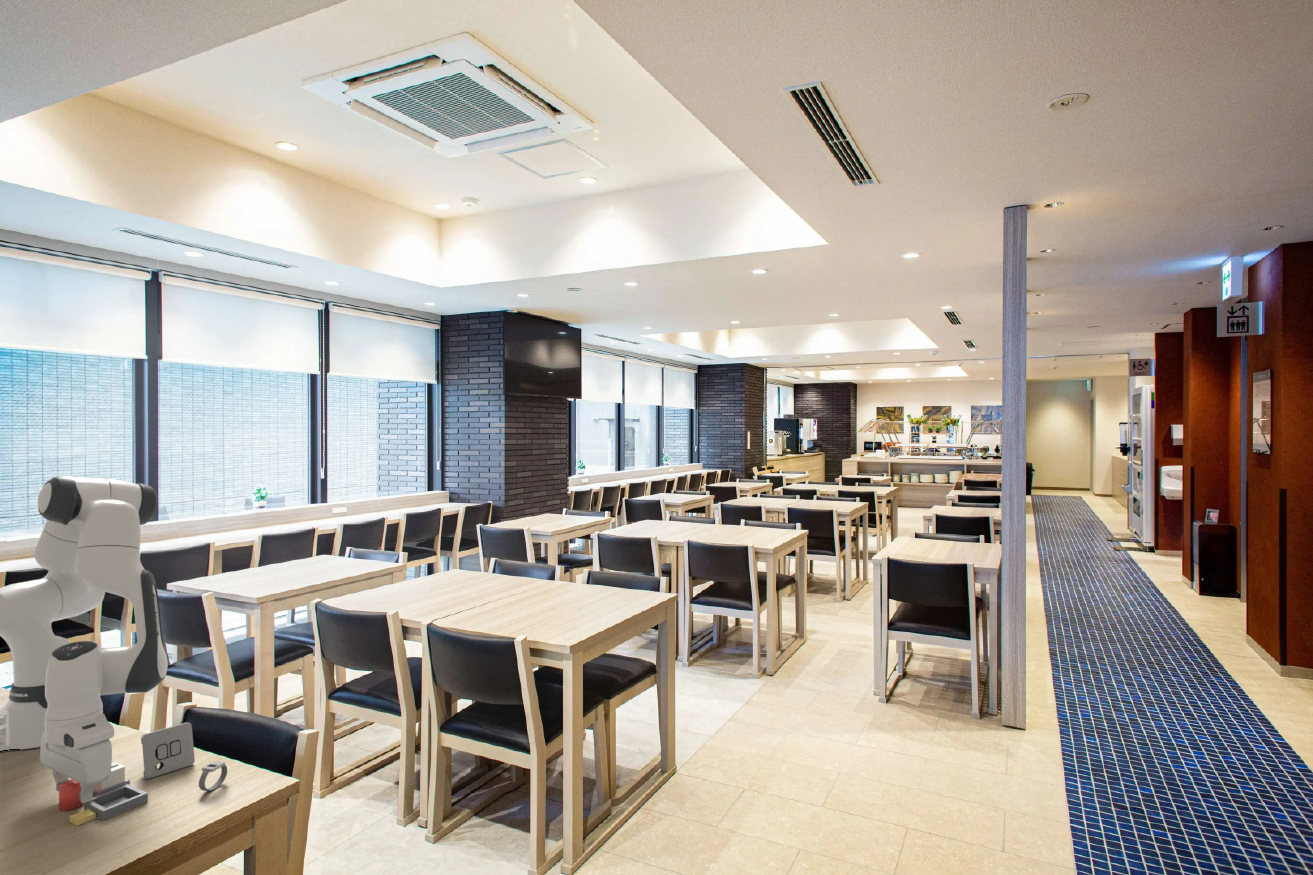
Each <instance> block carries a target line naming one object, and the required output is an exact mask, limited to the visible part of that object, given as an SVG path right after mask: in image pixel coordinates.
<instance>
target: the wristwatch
mask: <svg viewBox="0 0 1313 875" xmlns="http://www.w3.org/2000/svg"><path fill="white" fill-rule="evenodd" d="M219 769H221V773H220V776H219V778H218V780H217V781H216V782H215V784H213V785H212V786H210V787H209V788H207V787H206V779H207V777H208V775H209V773H213V772H215V771H216V770H219ZM201 772H202V773H201V775H200V777H199V780H198V788H199V789H200V790H201V791H204V792H205V791H206V792H213V791H215V790H216V789H217V788H219V787H220V786H221V785H222V784H223V783H224V781H225V780H226V777H227V775H228V767H227V765H226V762H225V761H217V760H214V761H213V762H210V763H209V764H207V765H205V766H204V767H201Z"/></svg>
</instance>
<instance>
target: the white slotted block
mask: <svg viewBox="0 0 1313 875" xmlns="http://www.w3.org/2000/svg"><path fill="white" fill-rule="evenodd" d="M125 779H126V766H124V765H122V764H120V763H118V762H112V764H111V773H110V775H109V777H108V779H107V780H105V781H102V782H100V783H97V784H96V785H95V788H94V790H93V792H95V793H97V794H98V791H100V790H102V789H105V788H107V787H110V786H113V785H115V784H118V783H120V782H123V781H126V780H125Z"/></svg>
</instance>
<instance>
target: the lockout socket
mask: <svg viewBox="0 0 1313 875" xmlns="http://www.w3.org/2000/svg"><path fill="white" fill-rule="evenodd" d="M148 802H149V792H147V791H144V790H141V789H140V788H137V787H135V786H133V785H131V784H130V785H129V784H127V785H124V786H122V787H119V788H117V789H114V790H112V791H109V792H106V793H104V794H101V795H99V796H96V797H94V798H92V800H91V801H89V802H86V803H84V804H83V810H82V811H79V812H77V813H74V814H72V815H69V820H68V821H69V822H70V823H71V824H73V825H75V826H79V825H82V824H85V823H87V822H89V821H92V820H94V819H96V818H97V819H99V820H101V821H105V820H108V819H110V818H112V817H113V818H114V817H115V816H118V815H120V814H123V813H124V812H125V813H126V812H128V811H129V810H132V809H134V808H137V807H140V806H141V805H144V804H147V803H148Z"/></svg>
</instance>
